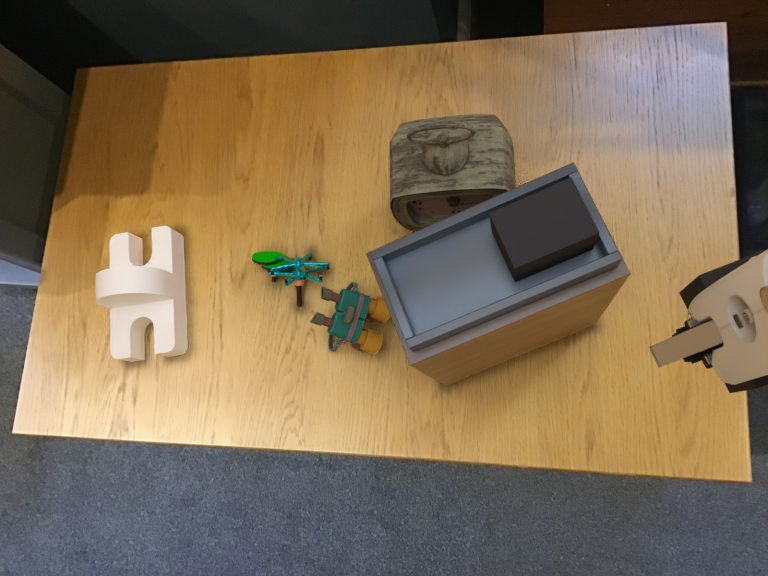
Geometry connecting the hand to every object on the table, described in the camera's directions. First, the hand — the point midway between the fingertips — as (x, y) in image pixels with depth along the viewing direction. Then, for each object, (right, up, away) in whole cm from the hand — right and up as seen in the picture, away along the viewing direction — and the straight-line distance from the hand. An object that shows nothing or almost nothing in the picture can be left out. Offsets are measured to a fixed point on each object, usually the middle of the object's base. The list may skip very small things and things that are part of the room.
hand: (744, 327), depth 41 cm
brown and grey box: (-8, -1, +42) cm, 43 cm away
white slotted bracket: (-56, +1, +53) cm, 77 cm away
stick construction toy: (-35, +4, +50) cm, 61 cm away
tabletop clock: (-12, +14, +47) cm, 50 cm away
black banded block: (0, 0, 0) cm, 0 cm away
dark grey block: (-9, +7, +15) cm, 18 cm away
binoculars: (-25, -2, +46) cm, 53 cm away
